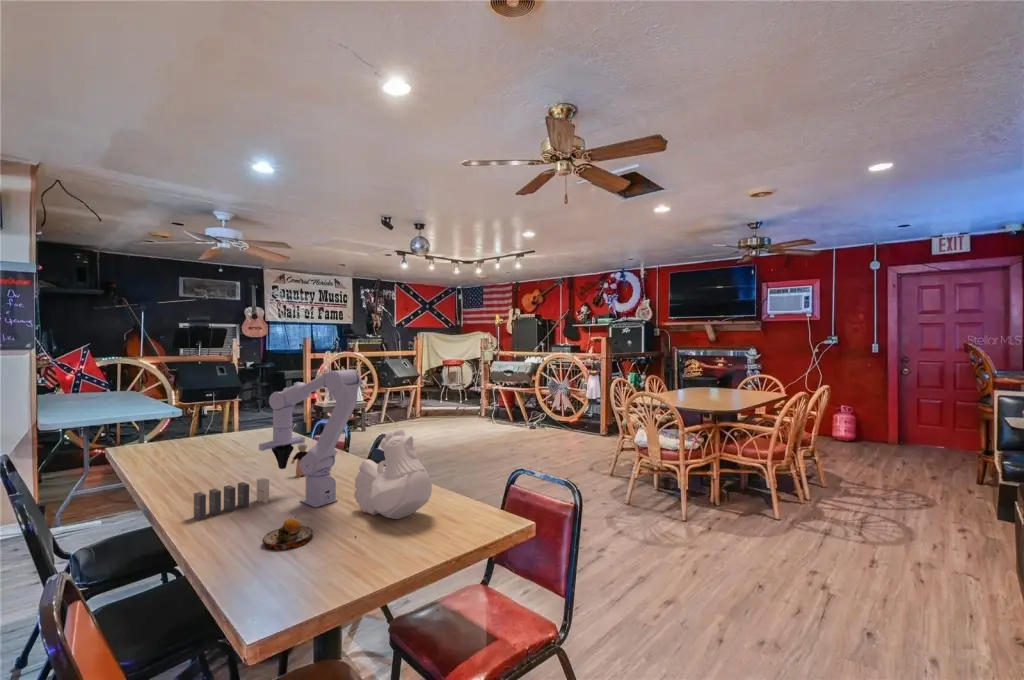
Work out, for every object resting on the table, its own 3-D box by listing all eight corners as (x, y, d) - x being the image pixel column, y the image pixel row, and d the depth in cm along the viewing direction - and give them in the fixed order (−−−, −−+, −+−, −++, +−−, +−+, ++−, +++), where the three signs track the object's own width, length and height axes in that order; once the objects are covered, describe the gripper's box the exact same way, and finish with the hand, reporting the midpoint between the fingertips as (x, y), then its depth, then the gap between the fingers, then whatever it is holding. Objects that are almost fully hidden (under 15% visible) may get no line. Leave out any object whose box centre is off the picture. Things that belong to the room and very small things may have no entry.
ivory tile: (269, 501, 150) (269, 479, 150) (264, 502, 148) (264, 480, 148) (261, 499, 151) (261, 477, 151) (256, 500, 150) (256, 479, 150)
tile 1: (249, 506, 144) (249, 484, 144) (243, 508, 143) (243, 485, 143) (243, 504, 147) (243, 481, 147) (237, 505, 145) (237, 483, 145)
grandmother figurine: (295, 479, 173) (295, 444, 173) (290, 477, 176) (290, 443, 176) (314, 474, 179) (314, 441, 179) (309, 472, 182) (309, 440, 182)
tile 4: (205, 518, 135) (205, 494, 135) (199, 520, 133) (199, 496, 133) (200, 515, 137) (200, 491, 137) (193, 517, 136) (193, 493, 136)
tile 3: (220, 514, 138) (221, 491, 138) (214, 516, 137) (214, 492, 137) (215, 511, 140) (215, 488, 140) (209, 513, 139) (209, 489, 139)
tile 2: (235, 510, 141) (235, 487, 141) (229, 512, 140) (229, 489, 140) (229, 507, 144) (229, 485, 144) (223, 509, 142) (223, 486, 142)
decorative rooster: (448, 496, 136) (423, 422, 148) (405, 500, 123) (382, 419, 136) (397, 532, 146) (378, 460, 158) (353, 540, 134) (336, 461, 146)
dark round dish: (300, 528, 129) (300, 501, 129) (321, 540, 122) (322, 511, 122) (254, 542, 120) (254, 513, 120) (274, 556, 112) (274, 525, 112)
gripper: (297, 422, 163) (296, 461, 163) (254, 429, 151) (253, 471, 151) (308, 425, 159) (307, 465, 159) (265, 431, 147) (264, 474, 147)
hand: (282, 468), depth 155 cm, fingers closed
